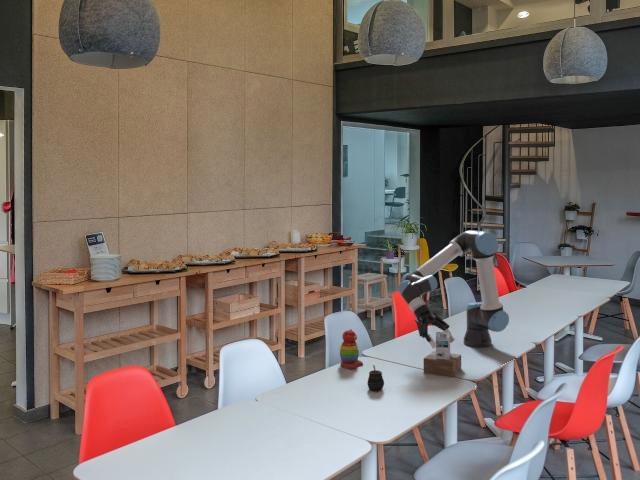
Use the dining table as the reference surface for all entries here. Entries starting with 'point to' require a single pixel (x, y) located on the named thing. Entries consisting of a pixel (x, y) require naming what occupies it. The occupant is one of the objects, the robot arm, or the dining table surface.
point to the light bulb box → (443, 345)
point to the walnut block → (442, 365)
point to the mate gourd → (375, 380)
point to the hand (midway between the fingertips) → (444, 344)
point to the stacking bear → (349, 351)
